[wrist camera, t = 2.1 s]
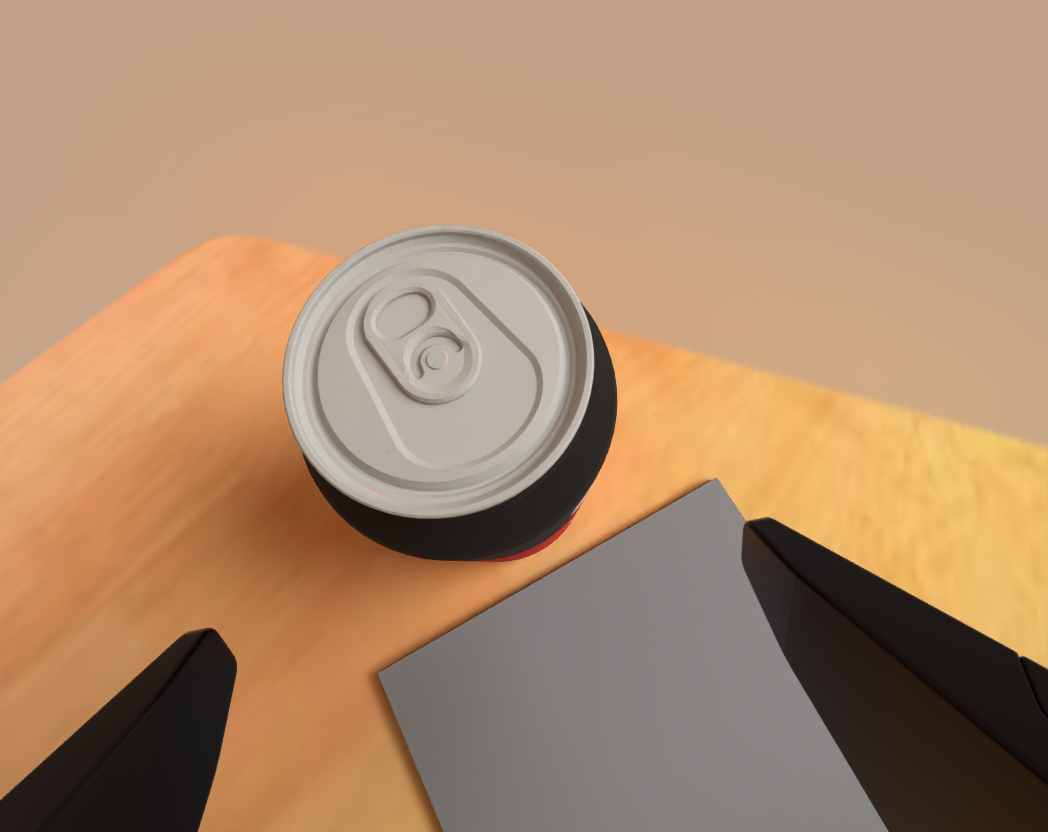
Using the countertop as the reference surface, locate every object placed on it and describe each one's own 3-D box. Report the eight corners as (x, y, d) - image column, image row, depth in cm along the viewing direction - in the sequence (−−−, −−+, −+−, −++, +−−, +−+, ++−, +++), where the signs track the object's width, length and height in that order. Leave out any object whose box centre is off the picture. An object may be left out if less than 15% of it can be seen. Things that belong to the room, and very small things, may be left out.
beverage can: (481, 597, 19) (371, 654, 7) (391, 460, 20) (181, 324, 9) (617, 494, 19) (716, 394, 8) (520, 370, 21) (484, 137, 9)
